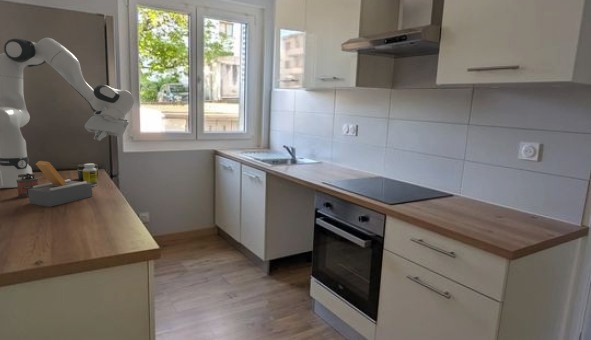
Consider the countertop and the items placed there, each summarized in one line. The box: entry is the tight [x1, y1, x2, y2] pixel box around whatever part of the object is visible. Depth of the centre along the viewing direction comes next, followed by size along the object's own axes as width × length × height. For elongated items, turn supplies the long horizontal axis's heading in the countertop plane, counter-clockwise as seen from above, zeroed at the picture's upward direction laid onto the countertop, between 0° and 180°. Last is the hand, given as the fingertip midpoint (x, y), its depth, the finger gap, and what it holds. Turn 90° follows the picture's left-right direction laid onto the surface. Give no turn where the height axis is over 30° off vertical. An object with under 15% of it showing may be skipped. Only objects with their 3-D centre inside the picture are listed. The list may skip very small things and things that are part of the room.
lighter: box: [16, 173, 39, 198], centre depth 172 cm, size 8×3×10 cm, turn 135°
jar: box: [76, 163, 99, 181], centre depth 211 cm, size 10×10×8 cm
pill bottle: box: [82, 162, 98, 187], centre depth 194 cm, size 6×6×11 cm
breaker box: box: [28, 178, 93, 208], centre depth 165 cm, size 12×20×7 cm, turn 158°
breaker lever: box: [35, 160, 66, 186], centre depth 160 cm, size 6×2×12 cm
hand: (96, 139), depth 179 cm, fingers closed
